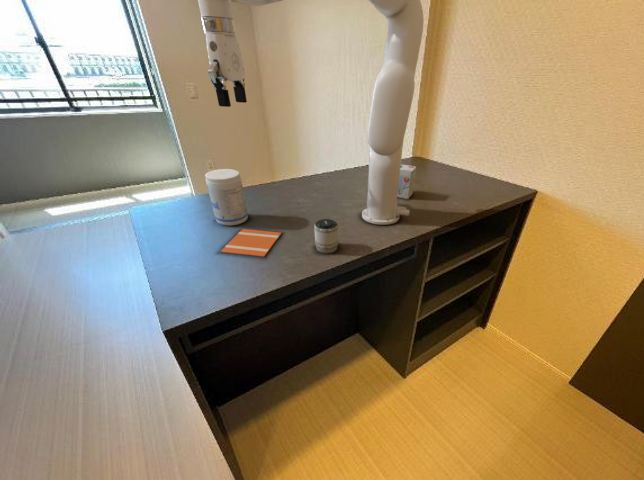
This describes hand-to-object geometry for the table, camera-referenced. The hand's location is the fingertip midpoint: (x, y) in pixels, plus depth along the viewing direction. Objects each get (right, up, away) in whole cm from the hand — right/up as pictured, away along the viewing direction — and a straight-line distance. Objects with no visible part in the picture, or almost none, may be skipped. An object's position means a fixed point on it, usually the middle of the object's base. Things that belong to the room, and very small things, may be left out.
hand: (233, 104), depth 86 cm
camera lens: (+27, -42, -3) cm, 50 cm away
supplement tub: (-4, -32, +9) cm, 33 cm away
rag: (+6, -40, -2) cm, 41 cm away
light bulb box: (+51, -18, +32) cm, 63 cm away
